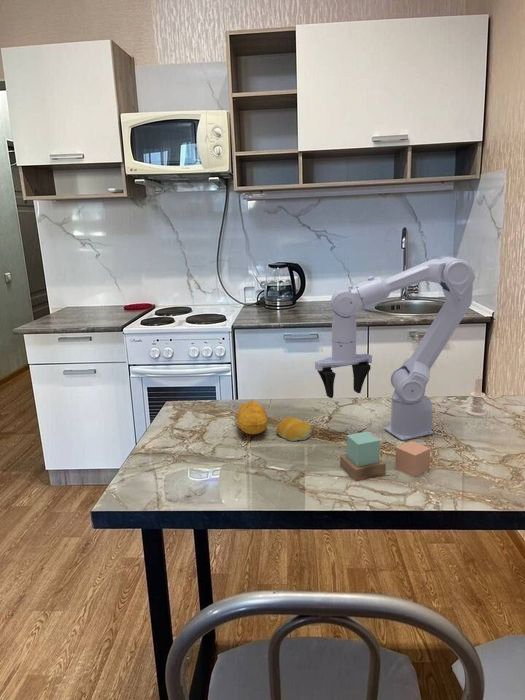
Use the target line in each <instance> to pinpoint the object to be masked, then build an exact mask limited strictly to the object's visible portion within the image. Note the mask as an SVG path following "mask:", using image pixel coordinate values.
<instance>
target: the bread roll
mask: <svg viewBox="0 0 525 700" xmlns="http://www.w3.org/2000/svg"><path fill="white" fill-rule="evenodd" d="M275 429H276V433H277V435H278V436H279V437H281V438H284V439H285V440H286V441H287V440H288V441H291V442H298V441H297V440H300V441H305V440H308V439H309V438H310V437H311V436H312V435H313V427H312V425H311V424H310V423H309V422H308V421H307V422H306V421H302V420H301V419H299V418H297V417H291V416H290V417H286V418H284V419H282V420H281V421H280V422H279V423H278V424H277V426H276V428H275ZM307 438H308V439H307Z"/></svg>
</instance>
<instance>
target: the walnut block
mask: <svg viewBox="0 0 525 700" xmlns="http://www.w3.org/2000/svg"><path fill="white" fill-rule="evenodd" d="M386 465H387V464H386V462H385V461H383V460H382V459H380V458H379V463H374V464H369V465H364V466H359V467H358V466H357V465H355V464H354V463H353V462H352V461H351V460H350V459H349V458H348V457H347V453H346V454H342V455H339V467H340V468H341V467H342V468H343V469H344V470H345V471H344V470H343V471H344V472H345V473H346V474H347V475H348V476H349V477H350V478H351V479H352V480H354V482H359V481H364V480H368V479H373V478H377V477H382V476H386V470H387V469H386V468H387V467H386ZM342 468H341V469H342Z"/></svg>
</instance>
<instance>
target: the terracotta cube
mask: <svg viewBox="0 0 525 700" xmlns="http://www.w3.org/2000/svg"><path fill="white" fill-rule="evenodd" d="M431 450H432V449H431V448H430V447H429V446H425V445H423V444H420V443H418V442H415V441H412V440H410V441H407V442H405V443H403V444H400V445H398V446H396V447H395V463H394V464H395V469H396V470H398V471H400V472H403V473H404V474H406V475H408V476H411V477H413V478H415V477H418V476H419V475H421V474H424V473H426V472H427V471H429V470H430V465H431Z"/></svg>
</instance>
